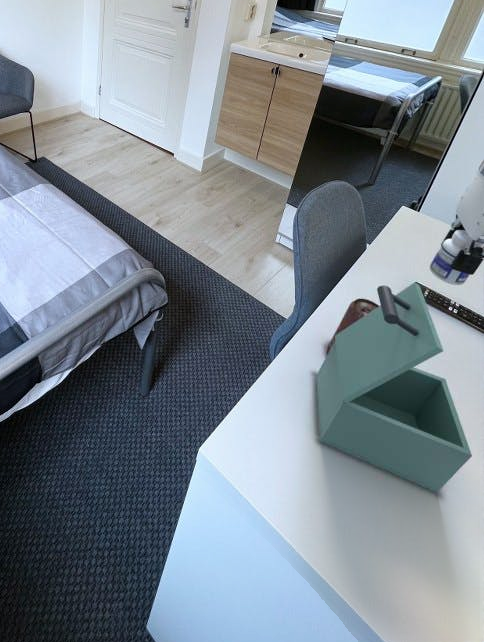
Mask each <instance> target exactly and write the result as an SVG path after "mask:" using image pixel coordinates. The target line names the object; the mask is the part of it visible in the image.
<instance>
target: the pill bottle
mask: <svg viewBox="0 0 484 642" xmlns="http://www.w3.org/2000/svg"><path fill="white" fill-rule="evenodd" d="M479 238H481V236H480V237H479ZM468 239H469V235H468V234H467V232H466V231H464V230H457V231H455V233H454V234H453V236H452V239H447V240H445V241H444V242H443V241H442V242H443V244H442V243H441V244H442V246H441V245H440V247H439V249H438V251H437V252H436V254H435V256H434V257H433V260H432V261H431V263H430V264H429V270H430V272H431V274H432V275H433V276H435V277H436V278H437V279H439V280H440V281H442V282H444V283H447V284H449V285H454V286H461V285H464V284H465V283H466V281H467V280H468V279H469V277H470V276H471V275H470V274H466V273H463V272H460V271H456V270H453V269H452V268H451V264H452V262H453V261H454V259H455V258H456V256H457V254H458V253H459V251H460V250H464V249H465V246H466V244H467V241H468ZM483 246H484V244H483V243H479V242H475V245H474V247H483ZM474 247H473V248H474Z"/></svg>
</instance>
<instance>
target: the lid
mask: <svg viewBox="0 0 484 642" xmlns="http://www.w3.org/2000/svg"><path fill="white" fill-rule="evenodd" d="M376 291H377V295H378V300H379V304H380V305H379V307H377V308H376V309H374V310H373V311H371V312H370V313H368V314H367V315H365V316H364V317H362V318H361V319H359V320H358V321H356V322H355V323H353V324H352V325H350V326H349V327H347V328H346V329H344V330H343V331H341V332H340V333H338V334H337V335H335V342H336V351H337V360H338V369H339V378H340V387H341V396H342V400H343V401H344V402H345V403H348V402H350V401H351V400H353V399H355V398H357V397H359V396H361V395H363V394H364V393H366V392H368V391H370V390H372V389H374V388H376V387H377V386H379V385H381V384H383V383H385V382H387V381H389V380H391V379H392V378H394V377H396V376H398V375H400V374H402V373H404V372H405V371H407V370H409V369H411V368H413V367H414V368H416V366H419V365H421V364H422V363H424V362H427V361H428V360H429V359H432V358H433V357H435V356H437V355H439V354H441V353H443V352H444V348H443V345H442V343H441V340H440V337H439V334H438V332H437V330H436V327H435V324H434V321H433V319H432V316H431V313H430V311H429V307H428V305H427V302H426V299H425V297H424V294H423V292H422V288H421V286H420V284H418V283H417V282H413V283H412V284H410V285H408V286H407V287H405V288H404V289H402V290H401V291H399V292H398V293H396V294H393V291H392V289H391V288H390V286H388V285H379V286H378V287H377V288H376Z"/></svg>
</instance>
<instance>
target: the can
mask: <svg viewBox="0 0 484 642" xmlns="http://www.w3.org/2000/svg"><path fill="white" fill-rule="evenodd" d="M348 305H349V306H348V307H347V309H346V311H345V312H344V315H343V317H342V318H341V321H340V322H339V324H338V326H337V327H336V330H335V332H334V334H333V335H332V337H331V339H330V340H329V343H328V345H327V349H326V350H327V354H328V353H329V351H330V349H331V347H332V346H333V344H334V342H335V335H337V334H338V333H340V332H341V331H343V330H344V329H346V328H347V327H349V326H350V325H352V324H353V323H355V322H356V321H358V320H359V319H361V318H362V317H364V316H365V315H367V314H368V313H370V312H371V311H373V310H374V309H376V308H377V307H379V306H380V305H379V304H377V303H376V302H374V301H372V300H370V299H366V298H356V299H354V300H352V301H351V302H350V304H348Z"/></svg>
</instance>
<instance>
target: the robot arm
mask: <svg viewBox="0 0 484 642" xmlns="http://www.w3.org/2000/svg"><path fill="white" fill-rule="evenodd" d="M455 213H456V214H455V219H454V221H453V222H452V223H451V225H450V228H451V229H449V231H448V232H447V234H446V235H445V237H444V238H443V240H442V242H441V243H440V247H441V246H442V244H443V242H444V241H445V240H447V239H452V236H453V234H454V233H455V231H457V230H464V231H466V232H467V234H468V235H469V239H468V241H467V244H466V246H465V249H464V250H460V251H459V253H458V254H457V256H456V258H455V259H454V261H453V262H452V264H451V268H452V269H453V270H456V271H460V272H463V273H466V274H470V275H469V276H472V275H474V274H475V273H476V272H477V270H478V269H479V267H480V265H481V264H482V263H483V261H484V238H483V237H484V159H483V160H482V162H481V163H480V165H479V167H478V169H477V170H476V176H475V177H474V178H473V180H472V181H471V182H470V184H469V185H468V187H467V188H466V190H465V191H464V193H463V194H462V195H461V198H460V199H459V201H458V202H457V205H456V208H455ZM479 237H480V238H479ZM475 242H479V243H483V246H482V247H474V245H475ZM473 247H474V248H473Z"/></svg>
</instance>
